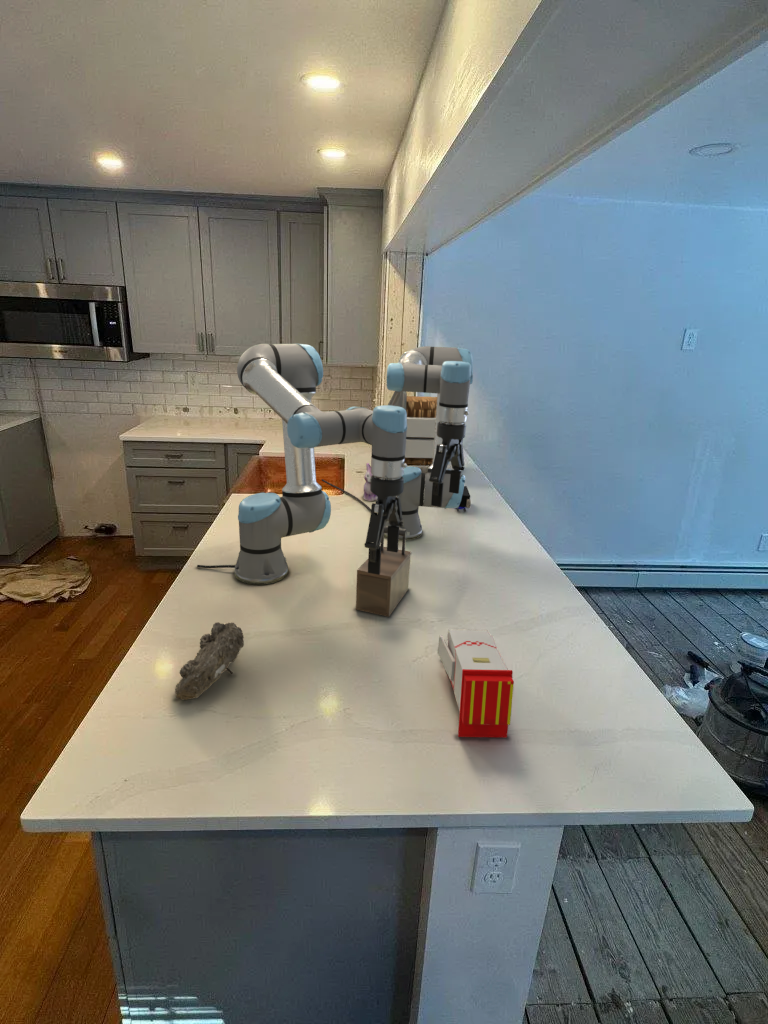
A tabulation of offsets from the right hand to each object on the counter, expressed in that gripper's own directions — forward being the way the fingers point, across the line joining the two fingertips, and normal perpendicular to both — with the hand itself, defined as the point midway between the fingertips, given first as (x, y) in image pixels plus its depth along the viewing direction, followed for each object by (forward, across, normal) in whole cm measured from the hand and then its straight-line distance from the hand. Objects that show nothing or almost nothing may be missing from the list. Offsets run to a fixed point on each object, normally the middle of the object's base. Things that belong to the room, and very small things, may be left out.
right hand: (445, 499), depth 156 cm
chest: (+26, -16, +10) cm, 32 cm away
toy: (+26, -43, -24) cm, 56 cm away
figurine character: (+26, +68, +17) cm, 75 cm away
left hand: (+8, -30, +4) cm, 31 cm away
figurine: (+26, +59, +53) cm, 83 cm away
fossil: (+26, -64, +26) cm, 74 cm away
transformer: (+26, +106, +51) cm, 120 cm away
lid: (+16, -16, +10) cm, 24 cm away
